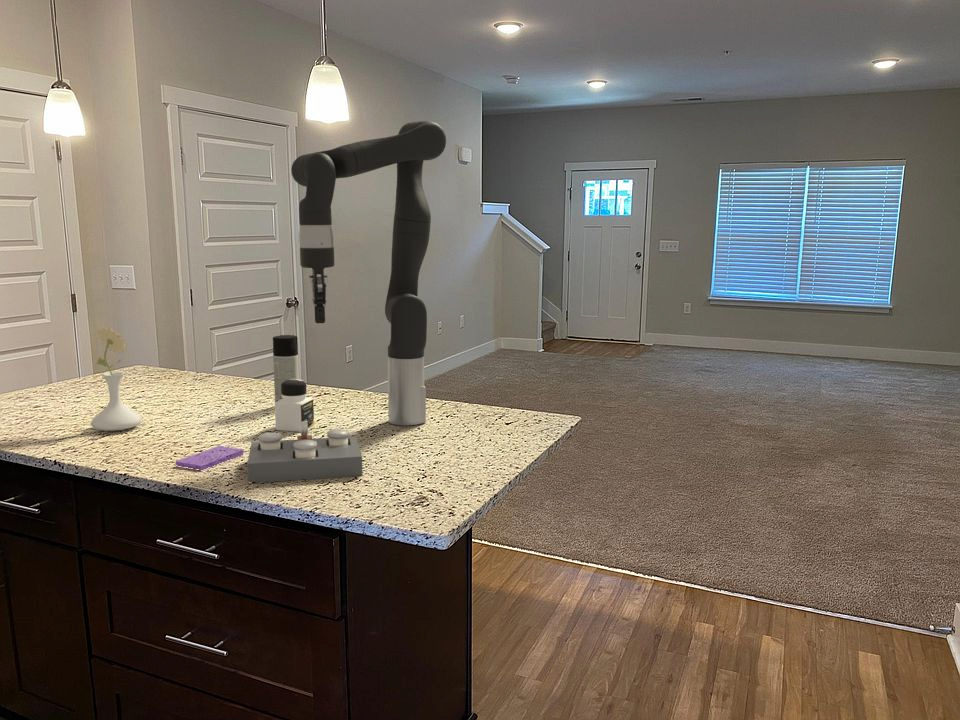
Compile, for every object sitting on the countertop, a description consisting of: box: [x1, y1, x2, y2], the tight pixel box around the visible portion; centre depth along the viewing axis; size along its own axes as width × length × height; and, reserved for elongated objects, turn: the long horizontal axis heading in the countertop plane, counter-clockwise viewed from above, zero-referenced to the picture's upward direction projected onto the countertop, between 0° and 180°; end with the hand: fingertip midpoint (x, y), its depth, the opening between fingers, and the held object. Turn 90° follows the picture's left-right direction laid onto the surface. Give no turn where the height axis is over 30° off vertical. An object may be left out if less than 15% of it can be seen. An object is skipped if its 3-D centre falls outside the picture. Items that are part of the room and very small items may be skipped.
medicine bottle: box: [274, 379, 315, 433], centre depth 180 cm, size 7×7×12 cm
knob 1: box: [258, 432, 283, 450], centre depth 152 cm, size 5×5×6 cm
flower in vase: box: [90, 326, 143, 432], centre depth 177 cm, size 13×11×25 cm
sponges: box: [175, 445, 244, 470], centre depth 155 cm, size 7×13×2 cm, turn 156°
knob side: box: [293, 440, 317, 458], centre depth 147 cm, size 5×5×6 cm
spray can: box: [272, 334, 300, 403], centre depth 200 cm, size 7×7×20 cm
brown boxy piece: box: [296, 421, 313, 441], centre depth 153 cm, size 3×3×5 cm
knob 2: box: [326, 428, 350, 446], centre depth 155 cm, size 5×5×6 cm
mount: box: [246, 435, 363, 483], centre depth 150 cm, size 22×15×4 cm
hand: (320, 322), depth 165 cm, fingers closed
